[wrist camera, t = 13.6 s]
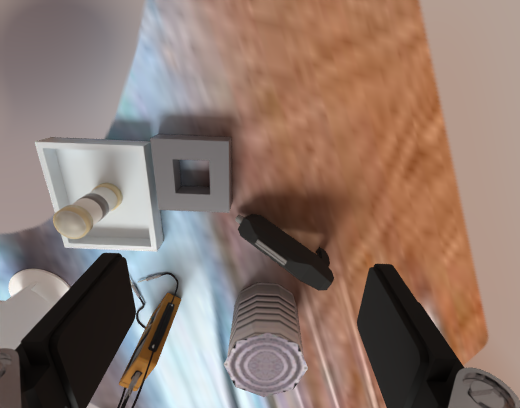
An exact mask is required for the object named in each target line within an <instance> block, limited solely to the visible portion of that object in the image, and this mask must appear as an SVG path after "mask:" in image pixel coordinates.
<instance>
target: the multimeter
mask: <svg viewBox="0 0 520 408" xmlns="http://www.w3.org/2000/svg"><path fill="white" fill-rule="evenodd" d="M166 274H169V275H171V276H173V277H174V278H175V280H176V281H177V287H176V291H175V294H174V295H172V294H170V293H167V294H166V295H165V297H164V298H163V300H162V301H161V303H160V304H159V306H158V307H157V309H156V310H155V312H154V313H153V314H152V316H151V318H150V320H149V322H148V324H147V326H146V327H144V326H143V325H142V324H141V323H140V322H139V320H138V312H139V311H140V310H141V309H143V308H144V302H143V301H142V299H141V297H140V294H139V292H138V291H137V289H136V287H135V285H134V284H132V282H131V280H130V282H131V287H132V288H133V290H134V292H135V293H136V295H137V296H138V298H139V299H140V300H141V302H142V304H143V307H142V308H141V309H139V310H138V311H137V313H136V319H137V322H138V323H139V324H140V325H141V326H142V327H143V328H145V330H144V332H143V334H142V336H141V338H140V341H139V343H138V345H137V347H136V349H135V351H134V353H133V355H132V357H131V359H130V361H129V363H128V365H127V367H126V370H125V372H124V374H123V376H122V378H121V380H120V382H119V385H121V386H123V387H124V391H123V394H122V397H121V400H120V402H119V405H118V407H117V408H119V407H120V405H121V402H122V400H123V397H124V393H125V390H126V388H128V391H127V394H126V396H125V398H124V402H123V404H122V406H121V408H125V405H126V403H127V401H128V398H129V396H130V395H131V393H132V390H133V391H137V390H138V388H139V387H140V389H139V391H138V394H137V396H136V399H135V401H134V403H133V406H132V408H134V406H135V404H136V401H137V399H138V397H139V394H140V391H141V389H142V386H143V383H144V381H145V379H146V378H147V376H148V375H149V374H150V373H151V371H152V370H153V369H154V367H155V366H156V364H157V362H158V360H159V357H160V354H161V352H162V349H163V346H164V344H165V341H166V339H167V336H168V333H169V331H170V328H171V325H172V323H173V320H174V317H175V315H176V312H177V310H178V307H179V304H180V302H181V299H180V298H178V297H176V296H175V295H176V292H177V289H178V280H177V278H176V277H175V276H174V275H173V274H171V273H164V274H158V275H155V276H151V277H147V278H146V279H144V280H141V281H138V282H142V281H145V280H147V281H148V280H151V279H155V278H158V277H160V276H162V275H166Z"/></svg>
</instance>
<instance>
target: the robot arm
mask: <svg viewBox="0 0 520 408" xmlns="http://www.w3.org/2000/svg"><path fill="white" fill-rule="evenodd" d="M135 315H136V309H135V304H134V298H133V293H132V288H131V282H130V277H129V272H128V266H127V261H126V259H125V258H124V257H122V255H121V254H119V253H103V254H102V255H101V256H100V257H99V258H98V259H97V260H96V261H95V262H94V263H93V264H92V265H91V266H90V267H89V268H88V269H87V271H86V272H85V273H84V274H83V275H82V276H81V277H80V278H79V279H78V280H77V281H76V282H75V283H74V284H73V286H72V287H71V288H70V289H69V290H68V291H67V292H66V293H65V294H64V295H63V296H62V297H61V298H60V299H59V301H58V302H57V303H56V304H55V305H54V306H53V307H52V308H51V309H50V310H49V311H48V312H47V313H46V314H45V316H44V317H43V318H42V319H41V320H40V321H39V322H38V323H37V324H36V325H35V326H34V327H33V328H32V329H31V331H30V332H29V333H28V334H27V335H26V336H25V337H24V338H23V339H22V340H21V344H20V345H19V346H18V347H17V348H16V349H15V350H13V349H9V348H2V349H0V408H86V407H87V406H88V404H89V402H90V400H91V398H92V396H93V395H94V393H95V391H96V389H97V387H98V385H99V384H100V382H101V380H102V378H103V376H104V374H105V373H106V371H107V369H108V367H109V365H110V363H111V362H112V360H113V358H114V356H115V354H116V352H117V351H118V349H119V347H120V345H121V343H122V341H123V340H124V338H125V336H126V334H127V332H128V330H129V329H130V327H131V325H132V323H133V321H134V319H135ZM357 326H358V330H359V333H360V336H361V339H362V341H363V344H364V347H365V349H366V352H367V355H368V358H369V360H370V363H371V366H372V369H373V371H374V374H375V377H376V379H377V382H378V385H379V388H380V390H381V393H382V396H383V399H384V401H385V404H386V407H387V408H520V400H519V399H518V397H517V395H516V394H515V393H514V392H513V391H512V390H511V389H510V387H508V386H507V385H506V384H505V383H504V382H503V381H501V380H500V379H498V378H497V377H495V376H493V375H492V374H490V373H488V372H485V371H483V370H481V369H476V368H464V367H463V365H462V364H461V362H460V361H459V359H458V358H457V356H456V355H455V353H454V352H453V350H452V349H451V348H450V346H449V345H448V343H447V342H446V340H445V339H444V337H443V336H442V334H441V333H440V331H439V330H438V329H437V327H436V326H435V324H434V323H433V321H432V320H431V318H430V317H429V315H428V314H427V313H426V311H425V310H424V308H423V307H422V305H421V304H420V303H419V302H417V300H416V299H415V297H414V296H413V294H412V293H411V291H410V290H409V288H408V287H407V286H406V284H405V283H404V281H403V280H402V278H401V277H400V275H399V274H398V272H397V271H396V269H395V268H394V266H393V265H391V264H375V265H374V267H371V268H370V269H369V272H368V276H367V281H366V285H365V289H364V293H363V298H362V302H361V306H360V311H359V315H358V320H357Z"/></svg>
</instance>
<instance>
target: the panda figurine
mask: <svg viewBox="0 0 520 408" xmlns="http://www.w3.org/2000/svg"><path fill="white" fill-rule="evenodd" d="M70 288H71V287H70V286H69V285H68V284H67V283H66V282H65V281H64V280H63V279H61V278H60V277H58V276H57V275H55V274H53V273H51V272H48V271H45V270H41V269H26V270H22V271H20V272H18V273H16V274H15V275H14V276H13V277H12V278H11V280H10V282H9V292H10V295H11V297H10V298H9V299H7V300H6V301H0V349H2V348H9V349H13V350H15V349H16V348H17V347H18V346H19V345H20V344H21V340H22V339H23V338H24V337H25V336H26V335H27V334H28V333H29V332H30V331H31V329H32V328H33V327H34V326H35V325H36V324H37V323H38V322H39V321H40V320H41V319H42V318H43V317H44V316H45V314H46V313H47V312H48V311H49V310H50V309H51V308H52V307H53V306H54V305H55V304H56V303H57V302H58V301H59V299H60V298H61V297H62V296H63V295H64V294H65V293H66V292H67V291H68V290H69V289H70Z"/></svg>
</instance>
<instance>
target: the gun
mask: <svg viewBox="0 0 520 408" xmlns="http://www.w3.org/2000/svg"><path fill="white" fill-rule="evenodd" d="M235 220H236V221H237V222H238V223H239V224H240V226H239V228H238V230H239V233H240V236H241V237H243V238H244V239H245V240H247V241H248V242H249V243H251V244H252V245H253V246H255V247H256V248H257V249H259V250H260V251H261V252H263V253H264V254H265V255H267V256H269V257H270V258H271V259H272V260H273V261H275V262H277V263H278V264H279V265H280V266H281V267H283V268H285V269H286V270H287V271H288V272H289V273H291V274H292V275H293V276H295V277H296V278H297V279H299V280H300V281H302V282H304V283H306V284H308V285H310V286H311V287H313V288H315V289H317V290H327V289H328V288H329V286H330V285H331V284H332V282H333V280H334V276H333V273H332V271H331V270H330V269H329V264H330V262H329V257H328V255H327V253H326V251H324V250H323V249H322V248H320V247H319V248H318V250H317V251H316V253H317V255H316V254H315V253H313V252H312V251H310V250H309V249H308V248H306V247H305V246H303V245H302V244H301V243H299V242H298V241H296V240H295V239H293V238H292V237H291V236H289V235H288V234H286V233H285V232H284V231H282V230H281V229H279V228H278V227H276V226H275V225H274V224H272V223H271V222H269V221H268V220H267V219H265V218H264V217H262V216H261V215H254V214H251V215H249V216H247V217H245V218H244V217H243V216H241V215H238V216H237V217H236V219H235Z"/></svg>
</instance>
